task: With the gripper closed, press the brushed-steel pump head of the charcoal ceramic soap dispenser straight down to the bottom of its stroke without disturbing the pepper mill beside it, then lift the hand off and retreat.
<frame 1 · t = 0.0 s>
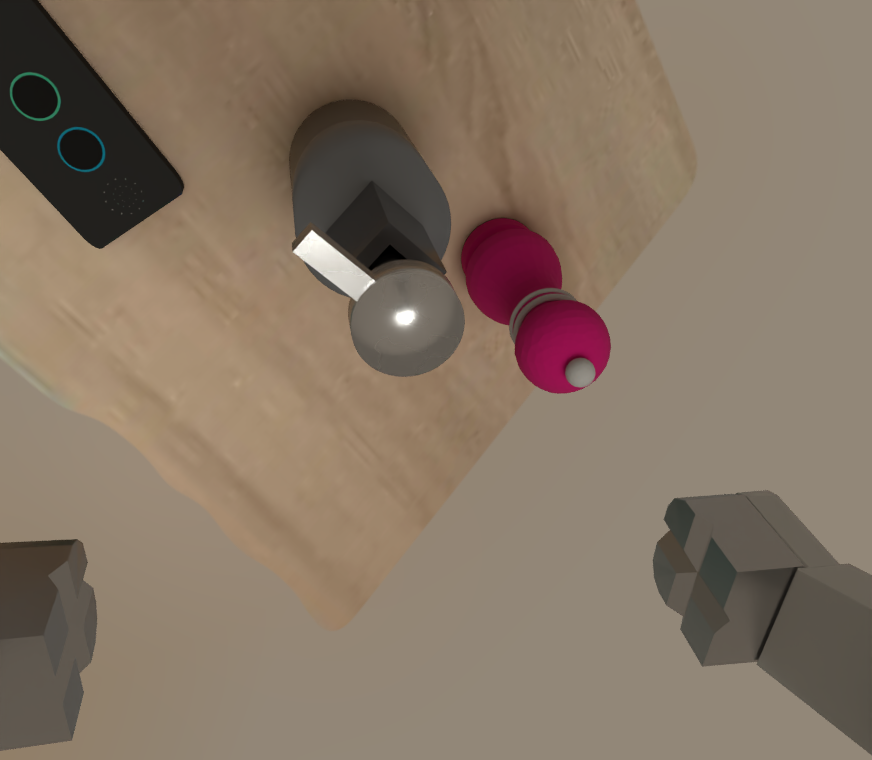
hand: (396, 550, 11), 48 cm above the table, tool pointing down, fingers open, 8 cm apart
pump head: (368, 266, 36), point 22 cm above the table, slide at 0.0 cm
dispenser: (351, 163, 55), on the table
pepper mill: (497, 253, 61), on the table
smart home device: (38, 91, 50), on the table
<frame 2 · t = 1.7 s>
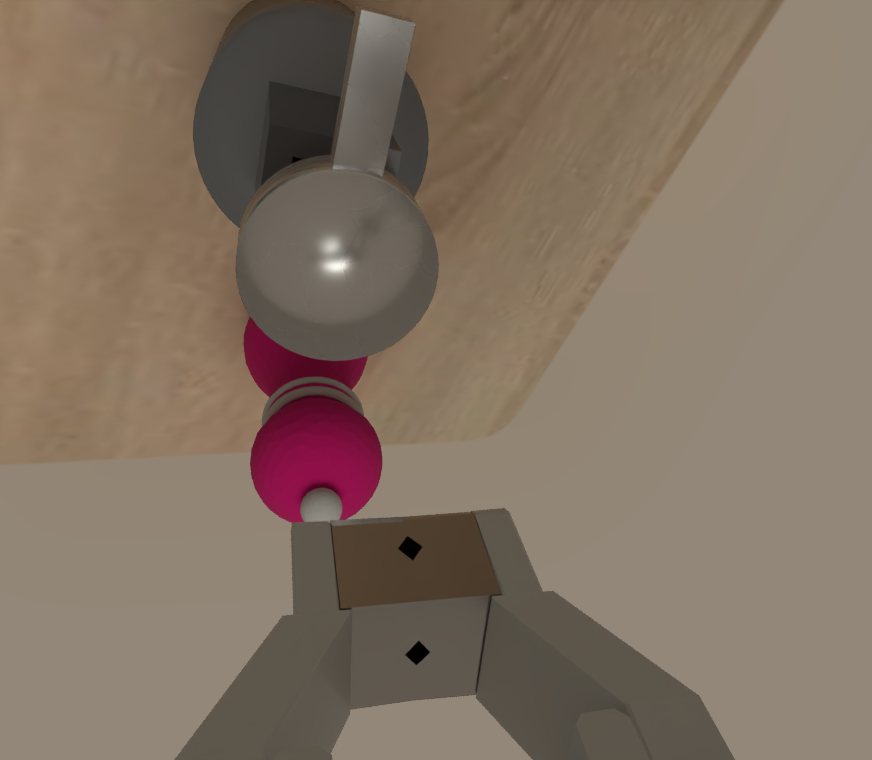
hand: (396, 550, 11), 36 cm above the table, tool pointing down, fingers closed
pump head: (338, 159, 22), point 22 cm above the table, slide at 0.0 cm
dispenser: (301, 81, 41), on the table
pepper mill: (303, 311, 48), on the table
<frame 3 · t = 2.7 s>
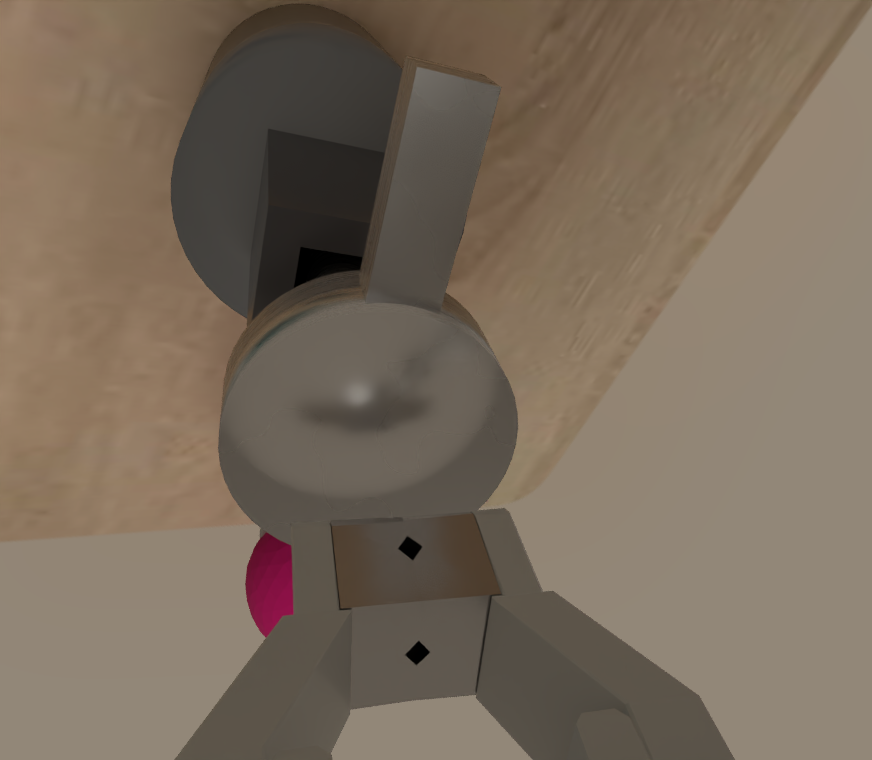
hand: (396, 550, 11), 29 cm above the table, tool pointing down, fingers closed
pump head: (365, 256, 15), point 22 cm above the table, slide at 0.0 cm
dispenser: (305, 111, 35), on the table
pepper mill: (307, 370, 42), on the table
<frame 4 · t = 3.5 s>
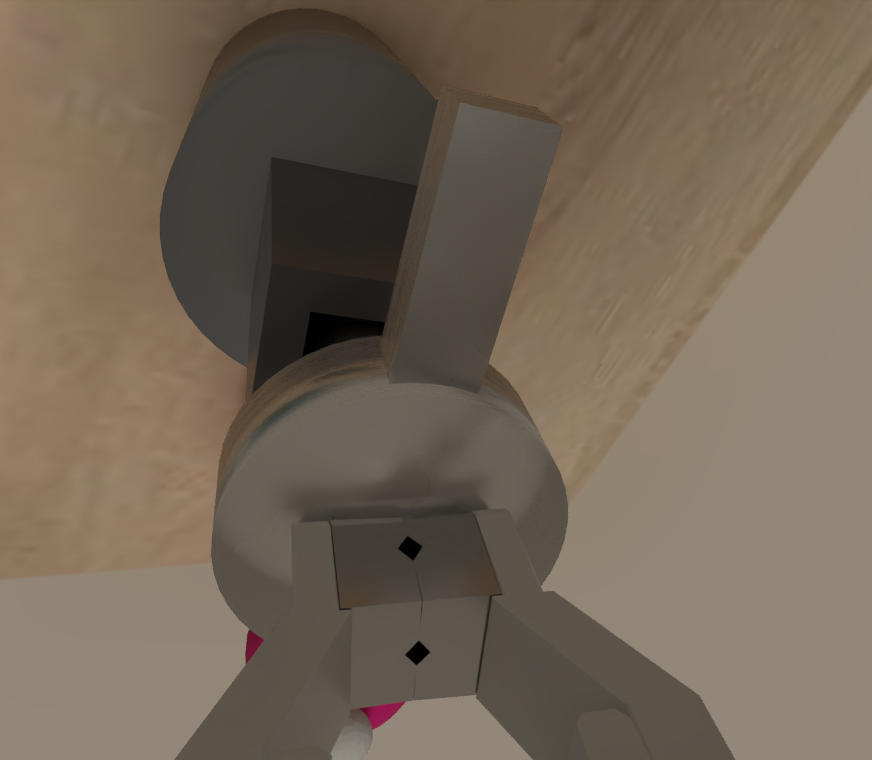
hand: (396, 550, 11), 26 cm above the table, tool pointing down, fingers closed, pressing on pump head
pump head: (383, 306, 13), point 21 cm above the table, slide at 0.9 cm, touching gripper
dispenser: (311, 125, 32), on the table
pepper mill: (313, 399, 39), on the table
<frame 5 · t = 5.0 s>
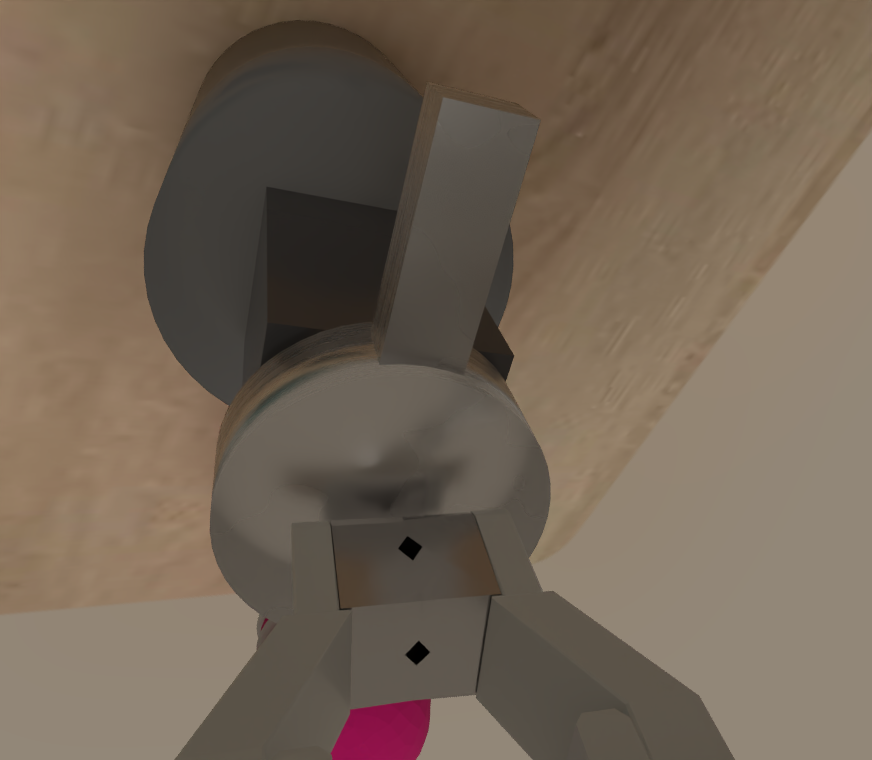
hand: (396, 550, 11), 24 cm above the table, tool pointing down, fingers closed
pump head: (374, 297, 14), point 19 cm above the table, slide at 3.6 cm
dispenser: (309, 143, 30), on the table
pepper mill: (310, 427, 38), on the table
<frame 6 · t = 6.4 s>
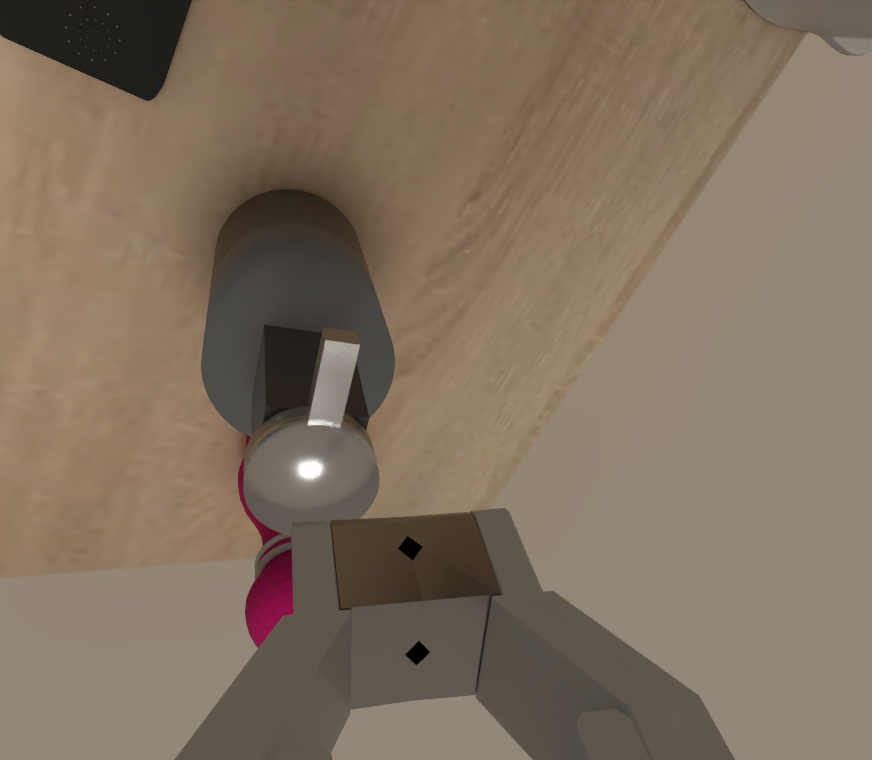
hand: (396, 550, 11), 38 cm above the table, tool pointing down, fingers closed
pump head: (313, 388, 31), point 19 cm above the table, slide at 3.6 cm
dispenser: (289, 260, 48), on the table
pepper mill: (290, 441, 55), on the table
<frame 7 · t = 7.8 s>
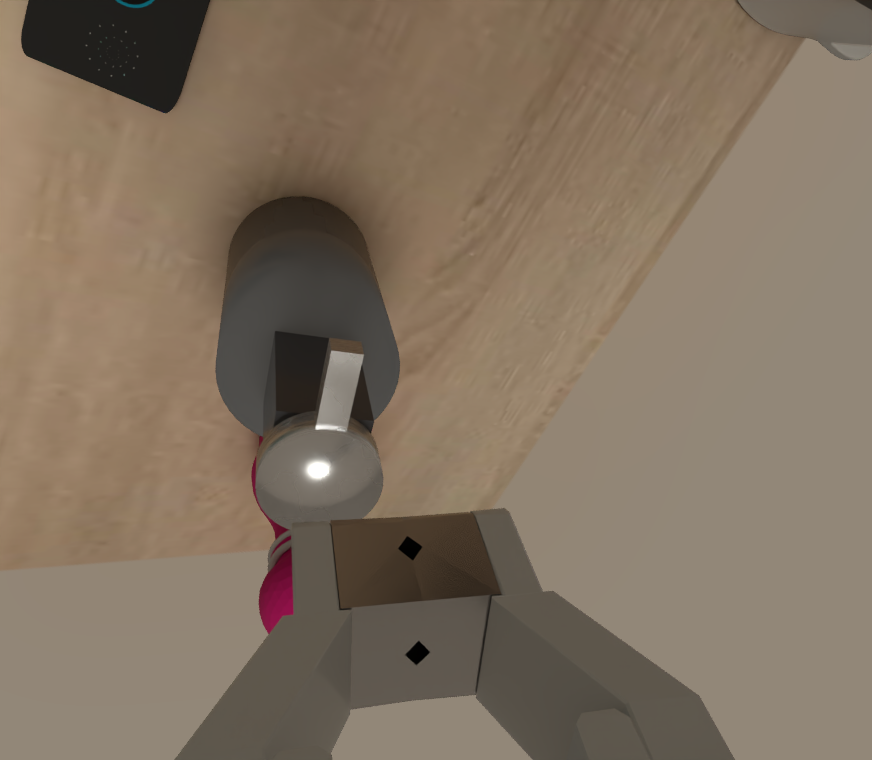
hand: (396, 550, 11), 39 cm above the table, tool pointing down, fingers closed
pump head: (321, 392, 33), point 19 cm above the table, slide at 3.6 cm
dispenser: (300, 264, 49), on the table
pepper mill: (302, 437, 56), on the table
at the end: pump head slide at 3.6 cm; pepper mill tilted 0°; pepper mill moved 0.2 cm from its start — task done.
